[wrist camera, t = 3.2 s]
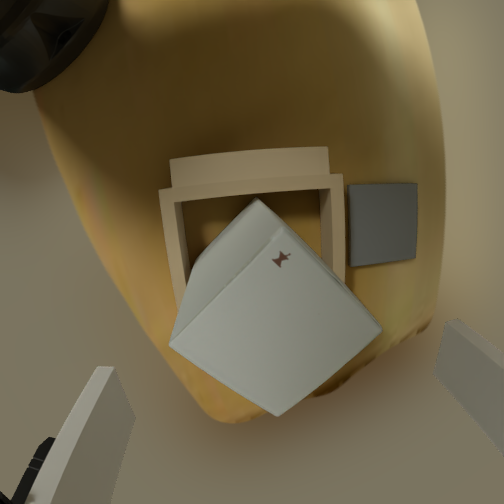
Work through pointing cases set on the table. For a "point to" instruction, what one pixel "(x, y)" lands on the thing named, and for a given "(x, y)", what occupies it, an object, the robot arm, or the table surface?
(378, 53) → the table surface
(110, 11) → the table surface
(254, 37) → the table surface
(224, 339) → the supplement box
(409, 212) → the coaster
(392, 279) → the table surface
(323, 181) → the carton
